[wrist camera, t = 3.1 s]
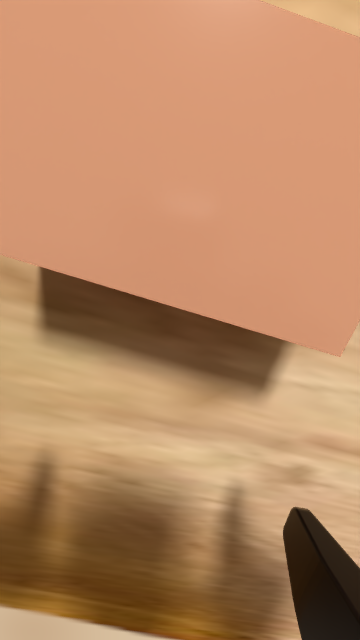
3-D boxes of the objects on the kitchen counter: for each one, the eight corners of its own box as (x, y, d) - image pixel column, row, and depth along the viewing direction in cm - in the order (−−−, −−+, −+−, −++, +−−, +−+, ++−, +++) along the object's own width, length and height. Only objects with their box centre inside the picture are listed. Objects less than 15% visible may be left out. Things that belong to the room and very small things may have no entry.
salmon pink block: (285, 308, 12) (339, 356, 7) (42, 233, 11) (-52, 238, 7) (356, 146, 10) (485, 84, 5) (68, 47, 9) (-39, -111, 5)
